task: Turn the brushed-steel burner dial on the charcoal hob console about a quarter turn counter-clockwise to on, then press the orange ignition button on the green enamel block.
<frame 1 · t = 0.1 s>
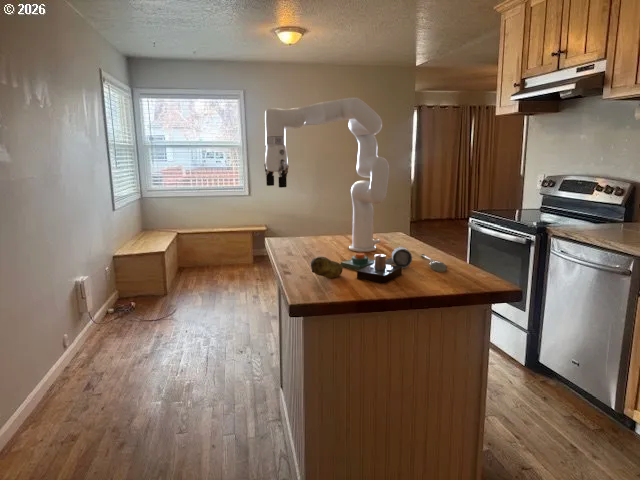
hand: (276, 186, 172), 31 cm above the countertop, tool pointing down, fingers open, 9 cm apart
ignite button: (360, 256, 174), point 4 cm above the countertop, slide at 0.1 cm
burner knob: (380, 261, 159), point 6 cm above the countertop, hinge at 0.0°
potato: (327, 277, 159), on the countertop
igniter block: (359, 265, 175), on the countertop
soupspoon: (431, 264, 177), on the countertop
hob console: (379, 276, 160), on the countertop
ceramic mug: (397, 266, 175), on the countertop
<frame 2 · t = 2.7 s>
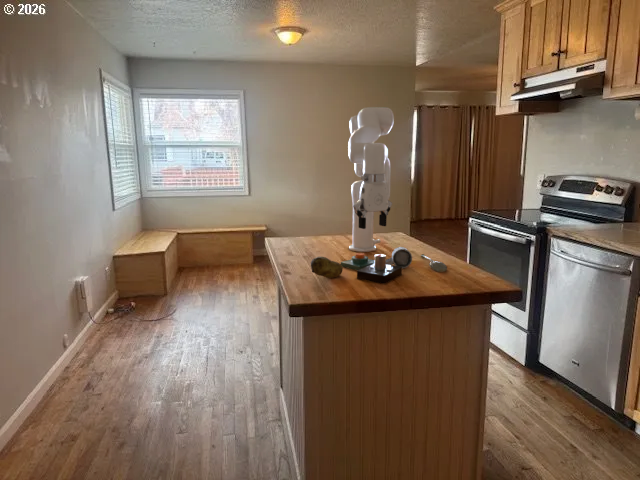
hand: (372, 227, 157), 18 cm above the countertop, tool pointing down, fingers open, 9 cm apart
nothing on the countertop moved.
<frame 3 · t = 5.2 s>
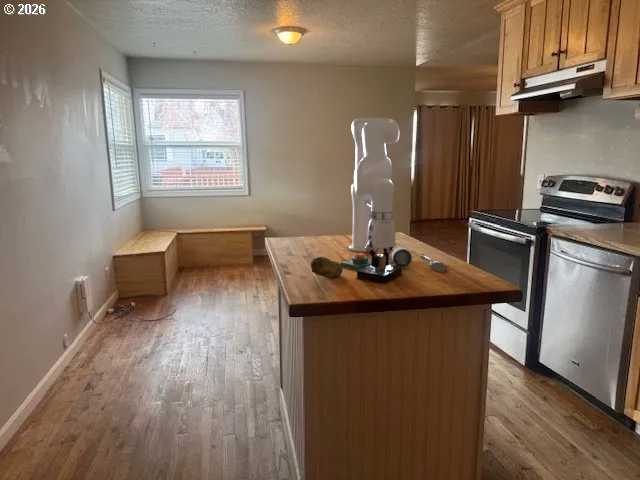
hand: (380, 265, 159), 4 cm above the countertop, tool pointing down, fingers closed on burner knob, 4 cm apart
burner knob: (380, 261, 159), point 6 cm above the countertop, hinge at -0.1°, touching gripper
everything else where it was.
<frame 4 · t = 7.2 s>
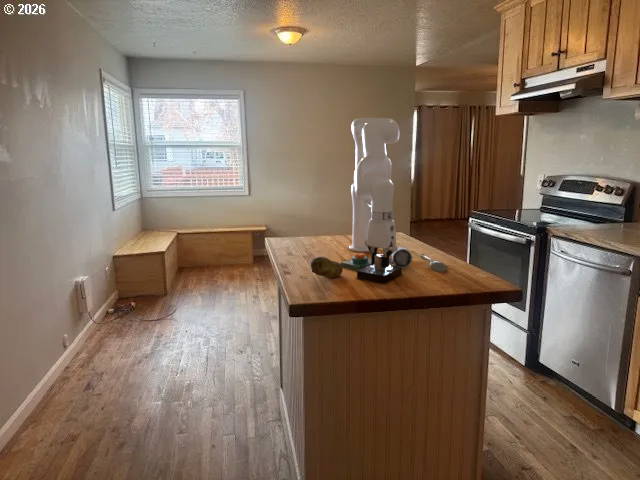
hand: (380, 265, 159), 4 cm above the countertop, tool pointing down, fingers closed on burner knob, 4 cm apart
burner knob: (380, 261, 159), point 6 cm above the countertop, hinge at 100.7°, touching gripper
everything else where it was.
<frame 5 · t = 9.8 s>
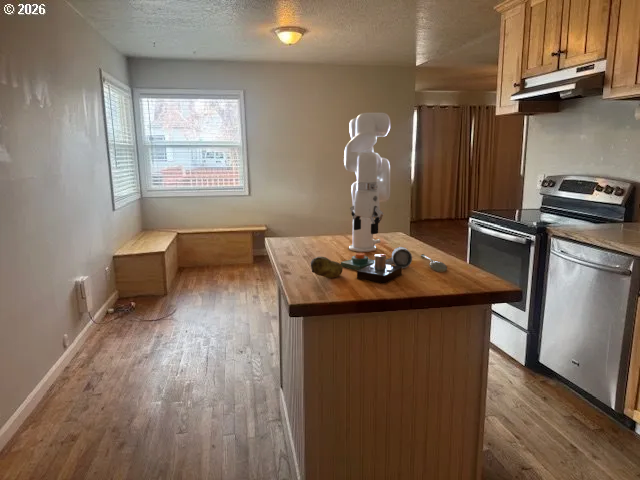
hand: (365, 231, 168), 15 cm above the countertop, tool pointing down, fingers open, 9 cm apart
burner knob: (380, 261, 159), point 6 cm above the countertop, hinge at 102.3°
everything else where it was.
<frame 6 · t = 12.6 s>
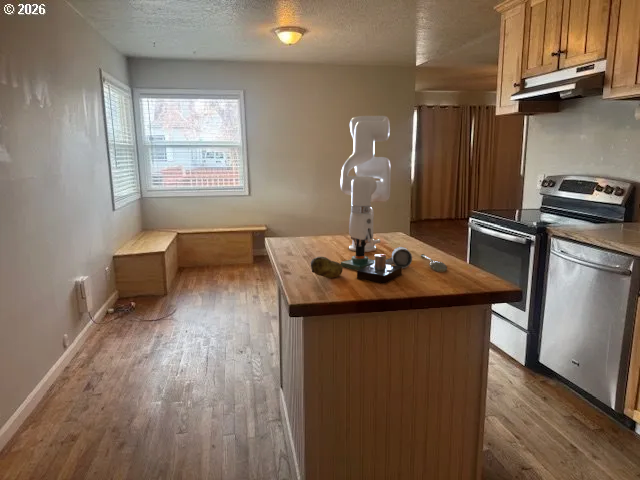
hand: (360, 255, 174), 4 cm above the countertop, tool pointing down, fingers closed
ignite button: (360, 257, 174), point 3 cm above the countertop, slide at -0.6 cm, touching gripper
everything else where it was.
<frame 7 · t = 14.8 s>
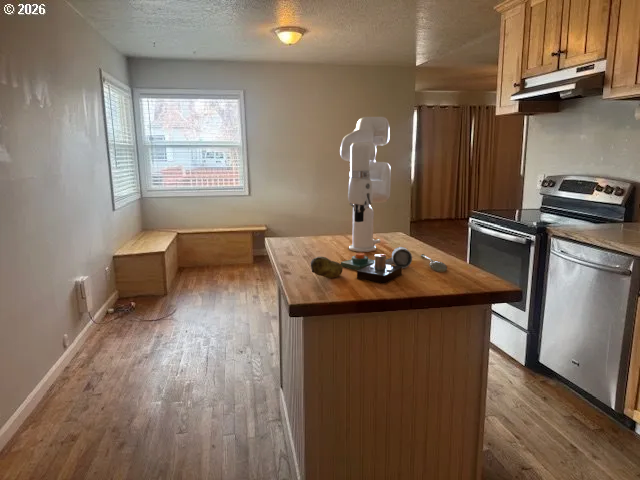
hand: (359, 221, 175), 17 cm above the countertop, tool pointing down, fingers closed
ignite button: (360, 256, 174), point 4 cm above the countertop, slide at 0.1 cm
everything else where it was.
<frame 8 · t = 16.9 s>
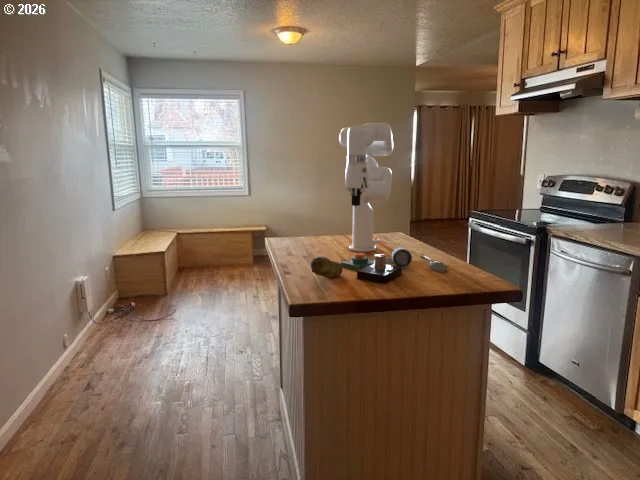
hand: (355, 205, 179), 23 cm above the countertop, tool pointing down, fingers closed
nothing on the countertop moved.
at the end: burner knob at +102° (first picture: +0°); ignite button pushed in 1.1 cm at the most during the clip and back out by the end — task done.
